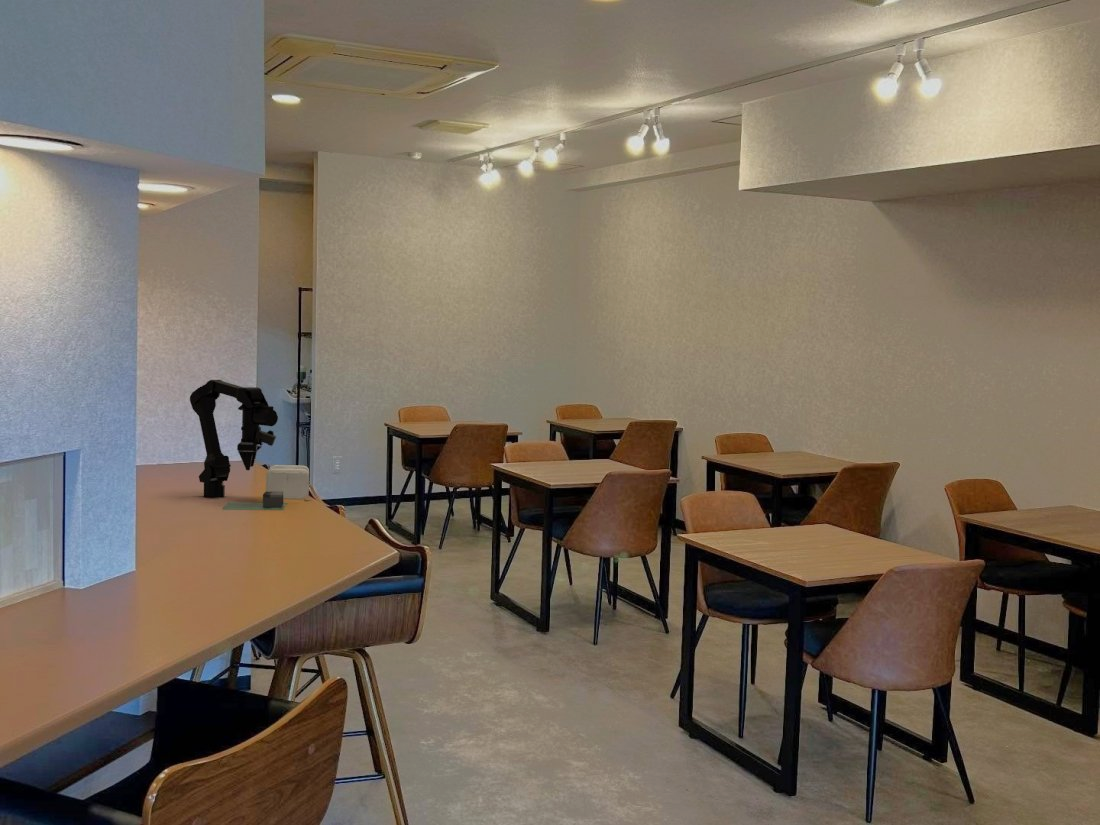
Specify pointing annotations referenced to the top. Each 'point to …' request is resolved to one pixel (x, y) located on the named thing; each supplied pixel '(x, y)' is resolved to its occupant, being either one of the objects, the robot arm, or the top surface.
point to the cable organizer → (288, 481)
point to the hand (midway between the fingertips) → (249, 468)
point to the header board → (249, 506)
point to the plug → (273, 499)
